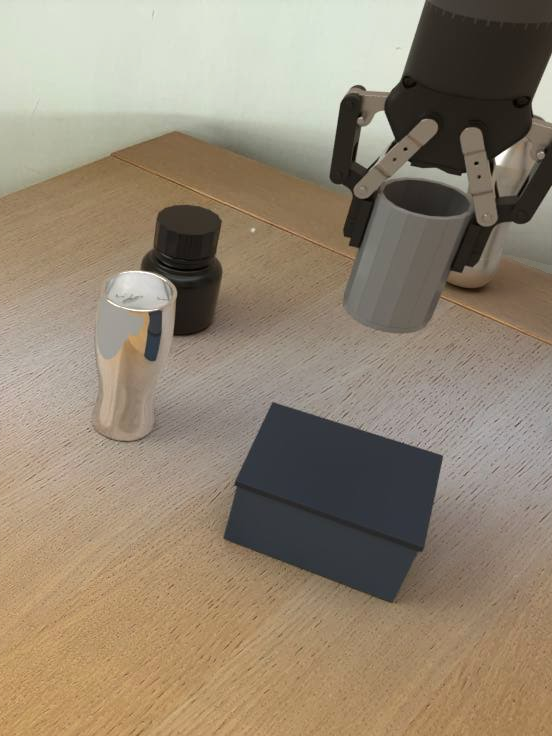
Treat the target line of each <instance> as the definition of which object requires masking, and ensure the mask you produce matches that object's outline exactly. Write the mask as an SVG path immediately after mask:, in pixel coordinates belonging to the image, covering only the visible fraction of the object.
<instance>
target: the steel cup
mask: <svg viewBox="0 0 552 736" xmlns="http://www.w3.org/2000/svg"><path fill="white" fill-rule="evenodd" d="M376 190H377V191H376V195H375V198H374V202H373V205H372V208H371V211H370V214H369V217H368V220H367V223H366V227H365V230H364V233H363V236H362V239H361V242H360V245H359V248H357V252H356V255H355V258H354V260H353V264H352V267H351V270H350V273H349V277H348V280H347V282H346V286H345V289H344V292H343V296H342V302H341V303H342V307H343V310H344V311H345V313H347V315H348V316H349V317H350V318H352V319H353V320H355V321H356V322H357V323H359V324H360V325H363V326H365V327H367V328H370V329H371V330H372V329H373V330H375V331H380V332H384V333H389V334H390V333H391V334H413V333H417V332H419V331H422V330H424V329H426V328H427V327H428V325H429V324H430V322H431V320H432V318H433V316H434V314H435V311H436V308H437V306H438V304H439V301H440V298H441V296H442V294H443V292H444V289H445V286H446V284H447V283H448V282H447V279H448V277H449V274H450V272H451V269H452V267H453V264H454V262H455V259H456V257H457V254H458V252H459V249H460V247H461V244H462V242H463V240H464V237H465V235H466V232H467V230H468V227H469V225H470V222H471V220H472V218H473V215H474V213H475V209H474V203H473V199H472V197H471V196H470V195H468V194H467V192H465V191H464V190H462V189H460V188H458V187H456V186H454V185H451V184H448V183H445V182H442V181H438V180H434V179H429V178H423V177H409V176H408V177H407V176H404V177H397V178H390V179H387V180H386V181H385V182H384V183H383V184H382V185H381V186H380V187H378V188H377V189H376Z"/></svg>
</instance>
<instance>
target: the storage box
mask: <svg viewBox="0 0 552 736" xmlns="http://www.w3.org/2000/svg"><path fill="white" fill-rule="evenodd" d="M443 460H444V455H443V454H440V453H436V452H433V451H430V450H427V449H424V448H420V447H417V446H414V445H412V444H411V445H410V444H407V443H405V442H401V441H399V440H395V439H392V438H389V437H386V436H382V435H380V434H376V433H373V432H369V431H367V430H363V429H361V428H358V427H353V426H351V425H347V424H344V423H341V422H337V421H336V420H335V421H334V420H331V419H329V418H325V417H322V416H319V415H316V414H312V413H309V412H307V411H302V410H299V409H296V408H293V407H291V406H287V405H283V404H280V403H277V402H273V401H272V402H271V404H270V406H269V408H268V411H267V413H266V415H265V417H264V419H263V421H262V423H261V426H260V427H259V430H258V431H257V433H256V436H255V438H254V440H253V442H252V443H251V447H250V448H249V450H248V453H247V455H246V457H245V459H244V460H243V461H244V462H243V463H242V466H241V468H240V469H239V472H238V473H237V476H236V478H235V480H234V483H233V484H234V485H233V486H234V487H236V488H235V492H234V496H233V500H232V504H231V507H230V510H229V515H228V519H227V523H226V527H225V530H224V533H223V540H227V541H229V542H231V543H235V544H237V545H240V546H242V547H245V548H246V549H247V548H248V549H250V550H253V551H255V552H258V553H260V554H262V555H266V556H268V557H271V558H273V559H276V560H279V561H281V562H284V563H287V564H289V565H291V566H294V567H297V568H300V569H301V570H302V569H303V570H305V571H308V572H310V573H312V574H315V575H318V576H320V577H323V578H326V579H329V580H331V581H333V582H336V583H339V584H342V585H344V586H346V587H349V588H352V589H354V590H357V591H360V592H362V593H365V594H367V595H370V596H373V597H375V598H378V599H381V600H383V601H386V602H389V603H391V604H393V603H394V601H395V599H396V597H397V595H398V593H399V591H400V590H401V588H402V585H403V584H404V581H405V579H406V577H407V575H408V574H409V571H410V569H411V567H412V565H413V564H414V562H415V559H416V557H417V555H418V553H422V552H423V551H424V550H425V546H426V541H427V535H428V531H429V526H430V522H431V521H430V520H431V516H432V512H433V508H434V502H435V497H436V494H437V493H436V492H437V489H438V483H439V480H440V479H439V478H440V473H441V468H442V464H443Z"/></svg>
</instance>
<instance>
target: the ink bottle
mask: <svg viewBox="0 0 552 736" xmlns="http://www.w3.org/2000/svg"><path fill="white" fill-rule="evenodd" d="M222 225H223V220H222V219H221V218H220V215H219V214H217V213H216V212H214V211H213V210H211V209H210V208H206V207H202V206H200V205H191V204H173V205H170V206H168V207H164V208H163V209H161V210H160V211H158V213H157V216H156V220H155V228H154V235H153V243H152V247H153V248H152V249H150V250H148V251H147V252H146V253H145V254H144V256H143V257H142V259H141V262H140V267H139V270H141V271H148V272H152V273H156V274H158V275H161V276H163V277H165V278H166V279H168V280H169V281H171V282H172V283H173V285H174V286H175V288H176V290H177V298H176V313H175V325H174V333H173V335H184V334H193V333H196V332H199V331H201V330H204V329H205V328H208V327H209V326H210V325H211V324H212V323H213V321H214V319H215V315H216V309H217V304H218V300H219V294H220V289H221V284H222V279H223V271H224V270H223V266H222V263H221V261H220V260H219V258H218V257H216V255H217V251H218V244H219V239H220V235H221V229H222Z"/></svg>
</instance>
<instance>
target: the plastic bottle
mask: <svg viewBox="0 0 552 736" xmlns="http://www.w3.org/2000/svg"><path fill="white" fill-rule="evenodd" d="M533 118H536V119H539V120H543V121H546V120H545V119H544V118H543V117H541V116H540V115H537V114H534V113H533ZM531 145H532V143H531V141H530V140H529V139H528V138H527V137H524V138H523V139H522V140H520V141H519V142H517V143H516V144H514V145H513V146H511V147H510V148H508V149H507V150H506V151H504V152H503V153H501V154H500V155H498V156H497V157H495V159H496V166H497V179H498V185H499V192H500V197H503V196H514V195H516V194H517V193H518V191H519V189H520V188H521V186H522V184H523V182H524V181H525V179H526V177H527V176H528V174H529V172H530V171H531V169H532V167H533V165H534V164H535V162H536V161H535V160H533V159H532V158H531V156H530V150H531ZM466 193H467V194H468V195H470V196H471V197H472V195H471V193H470V188H469V184H468V186H467V191H466ZM472 199H473V197H472ZM512 223H513V222H503V223H500V224H498V225H496V226H495V227H494V228H493V230H492V232H491V234H490V236H489V239H488V241H487V243H486V246H485V248H484V250H483V253H482V255H481V257H480V260H479V262H478V263H477V264H476V265H475V266H474V267H469V266H465V267H464V269H463V272H462V273H458V272H454V271H451V272H450V274H449V277H448V279H447V282H446V283H449V284H451V285H454V286H456V287H460V288H466V289H477V288H478V289H479V288H482V287H483V286H485V285H487V284H489V283H490V282H491V281H492V280H493V279H494V277H495V276H496V274H497V273H498V271H499V268H500V264H501V260H502V254H503V248H504V245H505V242H506V239H507V236H508V233H509V229H510V227H511V225H512Z"/></svg>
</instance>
